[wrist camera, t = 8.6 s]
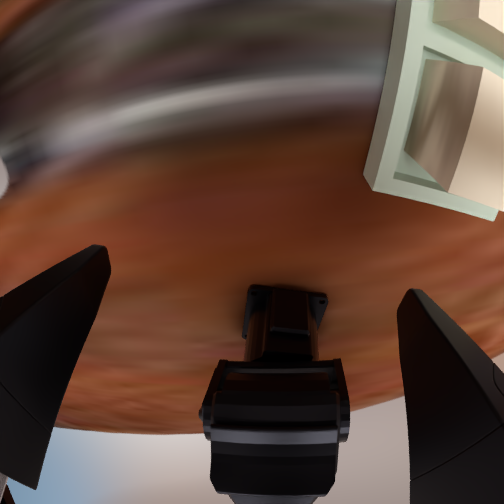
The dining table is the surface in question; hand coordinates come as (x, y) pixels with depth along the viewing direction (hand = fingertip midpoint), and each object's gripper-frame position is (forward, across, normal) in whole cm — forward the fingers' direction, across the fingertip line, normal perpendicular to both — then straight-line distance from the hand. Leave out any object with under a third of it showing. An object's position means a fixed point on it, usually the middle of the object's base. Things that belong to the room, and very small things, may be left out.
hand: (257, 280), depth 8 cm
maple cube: (+11, -11, -5) cm, 16 cm away
